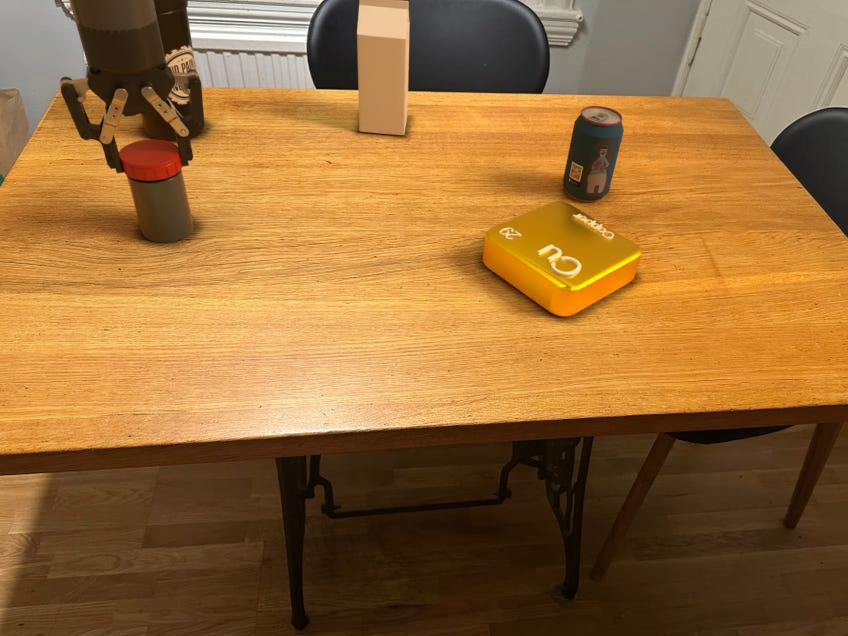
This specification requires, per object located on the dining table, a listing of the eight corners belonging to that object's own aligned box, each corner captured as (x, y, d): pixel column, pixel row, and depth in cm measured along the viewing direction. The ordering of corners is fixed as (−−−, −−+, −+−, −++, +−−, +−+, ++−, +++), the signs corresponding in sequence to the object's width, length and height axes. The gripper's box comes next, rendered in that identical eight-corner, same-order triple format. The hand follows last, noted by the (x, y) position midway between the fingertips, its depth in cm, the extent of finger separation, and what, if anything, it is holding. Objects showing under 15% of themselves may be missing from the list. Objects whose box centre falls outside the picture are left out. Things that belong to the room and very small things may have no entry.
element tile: (640, 277, 89) (650, 246, 86) (562, 323, 81) (570, 290, 77) (554, 224, 96) (561, 193, 93) (475, 260, 88) (479, 228, 85)
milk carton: (404, 136, 111) (406, 9, 98) (359, 132, 110) (356, 4, 98) (407, 117, 116) (410, -6, 103) (364, 113, 116) (362, -11, 103)
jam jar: (135, 240, 84) (114, 168, 78) (151, 214, 89) (132, 143, 82) (186, 244, 85) (169, 172, 78) (199, 218, 89) (185, 148, 83)
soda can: (581, 176, 107) (597, 99, 99) (616, 195, 104) (636, 117, 96) (551, 189, 103) (566, 110, 95) (587, 209, 100) (606, 130, 92)
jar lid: (168, 184, 79) (164, 169, 77) (111, 176, 79) (107, 161, 77) (192, 158, 83) (188, 143, 82) (138, 151, 83) (134, 135, 82)
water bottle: (173, 150, 101) (134, -24, 85) (123, 129, 104) (77, -43, 88) (225, 127, 108) (198, -39, 92) (177, 107, 111) (143, -56, 95)
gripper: (33, 30, 65) (85, 190, 76) (196, 23, 70) (222, 174, 81) (34, 4, 70) (83, 158, 81) (186, -1, 75) (212, 145, 86)
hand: (153, 166), depth 81 cm, fingers closed on jar lid, 6 cm apart
